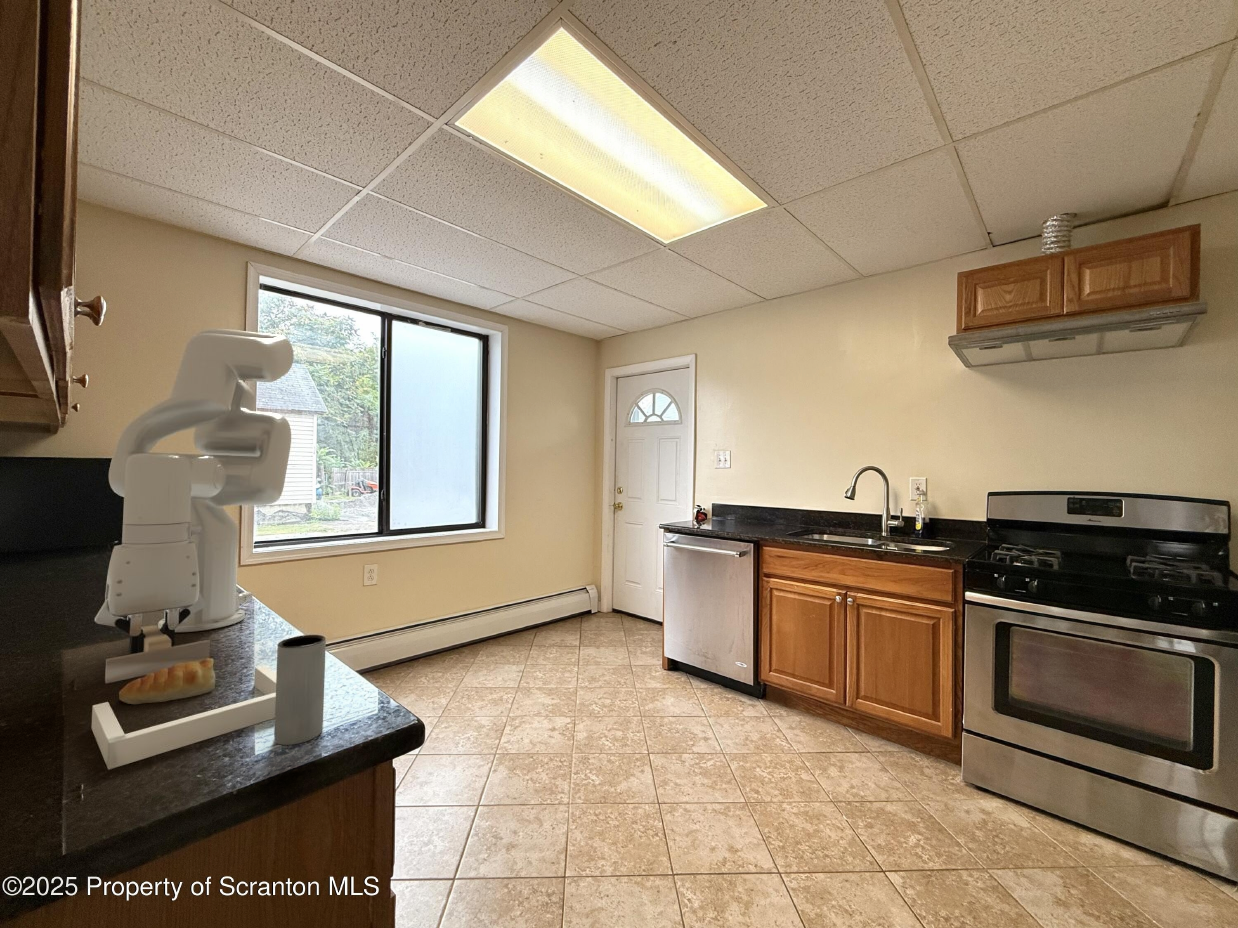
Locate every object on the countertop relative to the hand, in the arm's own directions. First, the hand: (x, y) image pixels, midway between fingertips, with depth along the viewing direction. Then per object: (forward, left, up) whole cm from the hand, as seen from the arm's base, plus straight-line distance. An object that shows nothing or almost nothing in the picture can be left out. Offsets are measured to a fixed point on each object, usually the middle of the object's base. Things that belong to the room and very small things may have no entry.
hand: (151, 656), depth 76 cm
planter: (+19, +36, -1) cm, 40 cm away
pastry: (+10, +13, -1) cm, 16 cm away
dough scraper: (0, 0, -1) cm, 1 cm away
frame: (+16, +22, -1) cm, 27 cm away
